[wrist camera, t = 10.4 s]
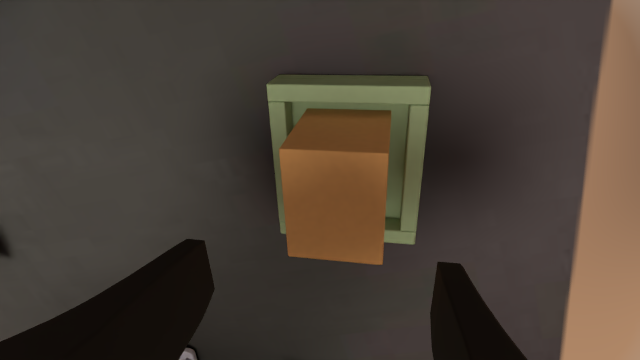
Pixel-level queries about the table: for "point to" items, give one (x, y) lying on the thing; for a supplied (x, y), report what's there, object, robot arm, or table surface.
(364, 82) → the open green tray
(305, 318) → the table surface
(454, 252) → the table surface
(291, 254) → the brown rectangular block
